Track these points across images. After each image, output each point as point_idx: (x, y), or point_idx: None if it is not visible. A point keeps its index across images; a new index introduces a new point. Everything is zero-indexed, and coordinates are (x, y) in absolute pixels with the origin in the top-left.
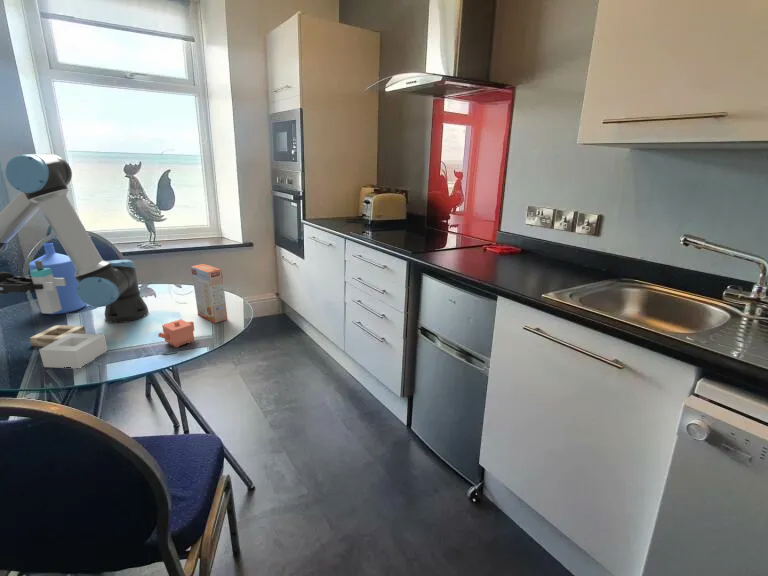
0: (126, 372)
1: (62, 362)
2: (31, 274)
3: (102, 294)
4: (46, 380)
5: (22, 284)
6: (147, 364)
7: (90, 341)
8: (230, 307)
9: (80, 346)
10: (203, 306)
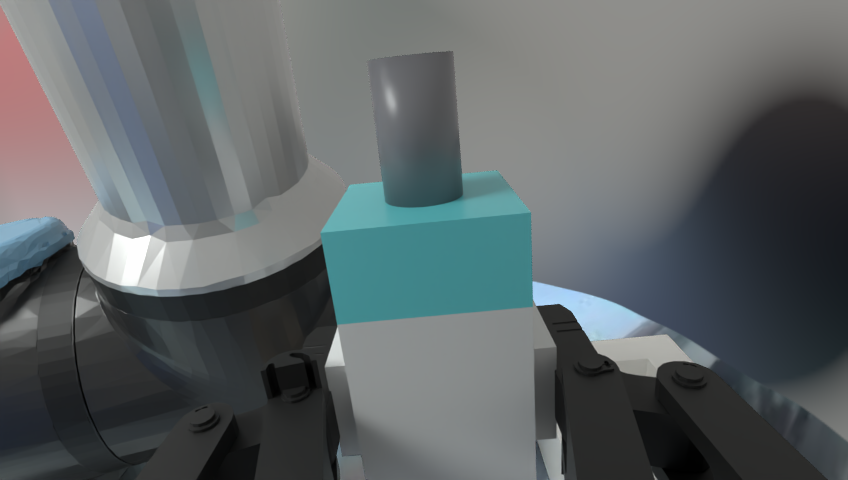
0: (604, 308)
1: None
2: (527, 263)
3: None
4: (783, 423)
5: (700, 377)
6: (553, 299)
7: None
8: None
9: (635, 344)
10: None
